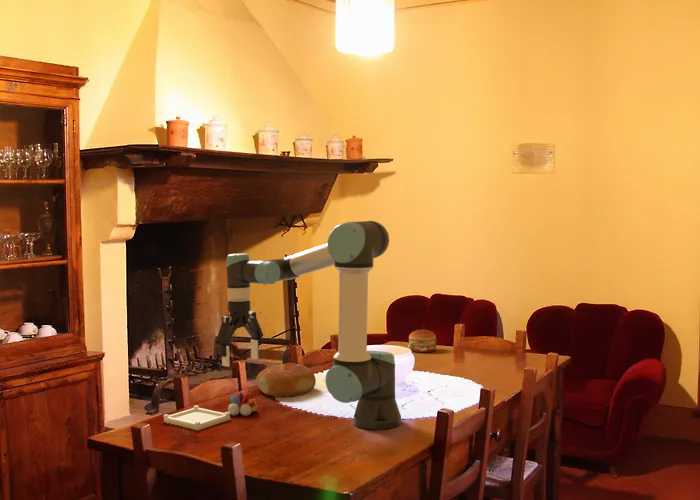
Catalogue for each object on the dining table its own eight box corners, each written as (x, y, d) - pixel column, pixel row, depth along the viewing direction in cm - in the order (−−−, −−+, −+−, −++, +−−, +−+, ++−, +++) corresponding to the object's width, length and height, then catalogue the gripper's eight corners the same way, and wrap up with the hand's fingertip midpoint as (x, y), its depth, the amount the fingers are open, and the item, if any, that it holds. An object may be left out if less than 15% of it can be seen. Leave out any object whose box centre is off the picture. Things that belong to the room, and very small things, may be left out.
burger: (406, 353, 358) (406, 332, 357) (409, 347, 371) (409, 327, 371) (436, 354, 356) (435, 332, 355) (437, 348, 369) (437, 327, 369)
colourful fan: (252, 417, 258) (251, 395, 257) (224, 416, 260) (223, 395, 259) (260, 410, 266) (259, 389, 266) (233, 409, 268) (232, 388, 268)
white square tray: (231, 419, 255) (230, 412, 255) (197, 430, 244) (197, 423, 244) (196, 412, 265) (196, 405, 265) (162, 422, 254) (162, 415, 253)
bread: (243, 396, 286) (242, 369, 285) (273, 382, 308) (272, 357, 307) (299, 401, 277) (298, 373, 277) (326, 386, 299) (325, 360, 298)
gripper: (256, 294, 273) (258, 354, 274) (203, 303, 253) (205, 367, 254) (272, 296, 268) (273, 357, 270) (219, 305, 249) (221, 370, 250)
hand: (240, 362), depth 262 cm, fingers open, 13 cm apart
